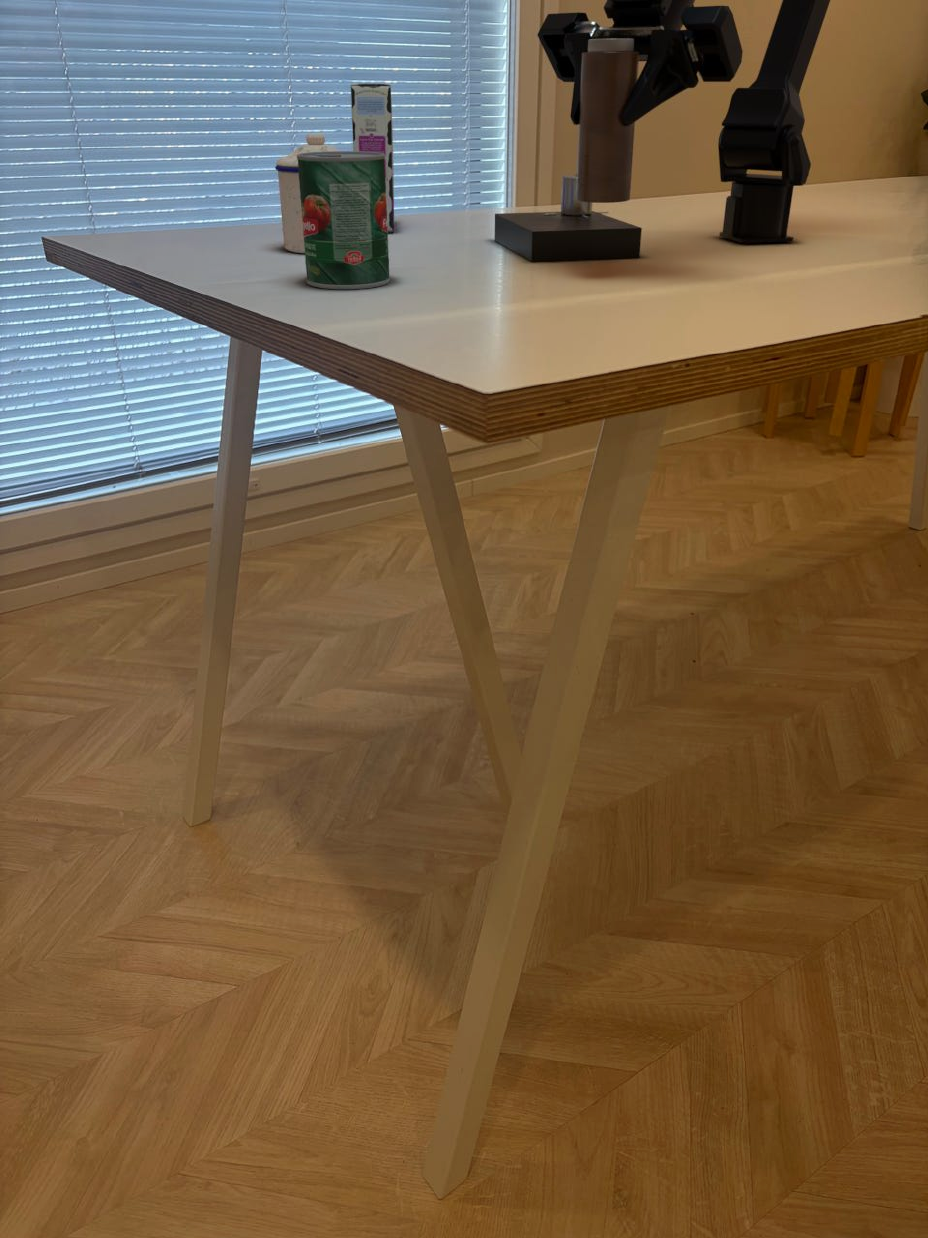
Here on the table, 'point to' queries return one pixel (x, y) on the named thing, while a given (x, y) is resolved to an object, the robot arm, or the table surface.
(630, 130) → the salt mill
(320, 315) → the table surface
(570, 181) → the knob
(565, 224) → the stove
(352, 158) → the canned tomato
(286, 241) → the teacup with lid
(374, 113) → the candy bar box
